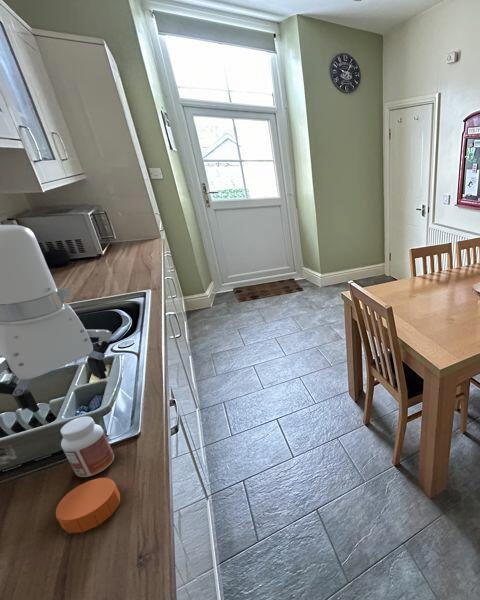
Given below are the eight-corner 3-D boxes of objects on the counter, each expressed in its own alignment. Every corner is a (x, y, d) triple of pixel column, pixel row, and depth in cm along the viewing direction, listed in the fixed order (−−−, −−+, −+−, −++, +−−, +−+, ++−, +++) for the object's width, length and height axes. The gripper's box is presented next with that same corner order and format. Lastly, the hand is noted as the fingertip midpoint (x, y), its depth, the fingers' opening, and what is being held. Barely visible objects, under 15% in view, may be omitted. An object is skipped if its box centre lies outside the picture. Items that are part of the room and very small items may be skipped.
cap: (50, 535, 56) (42, 522, 54) (85, 492, 63) (78, 479, 61) (101, 530, 57) (94, 517, 55) (129, 488, 64) (124, 476, 62)
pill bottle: (118, 449, 72) (102, 409, 67) (110, 471, 67) (92, 431, 62) (81, 458, 69) (62, 418, 65) (70, 483, 64) (48, 441, 60)
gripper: (81, 284, 60) (111, 361, 67) (-70, 323, 46) (-12, 417, 53) (106, 291, 58) (134, 371, 65) (-46, 335, 43) (11, 432, 50)
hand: (68, 391), depth 59 cm, fingers open, 9 cm apart
